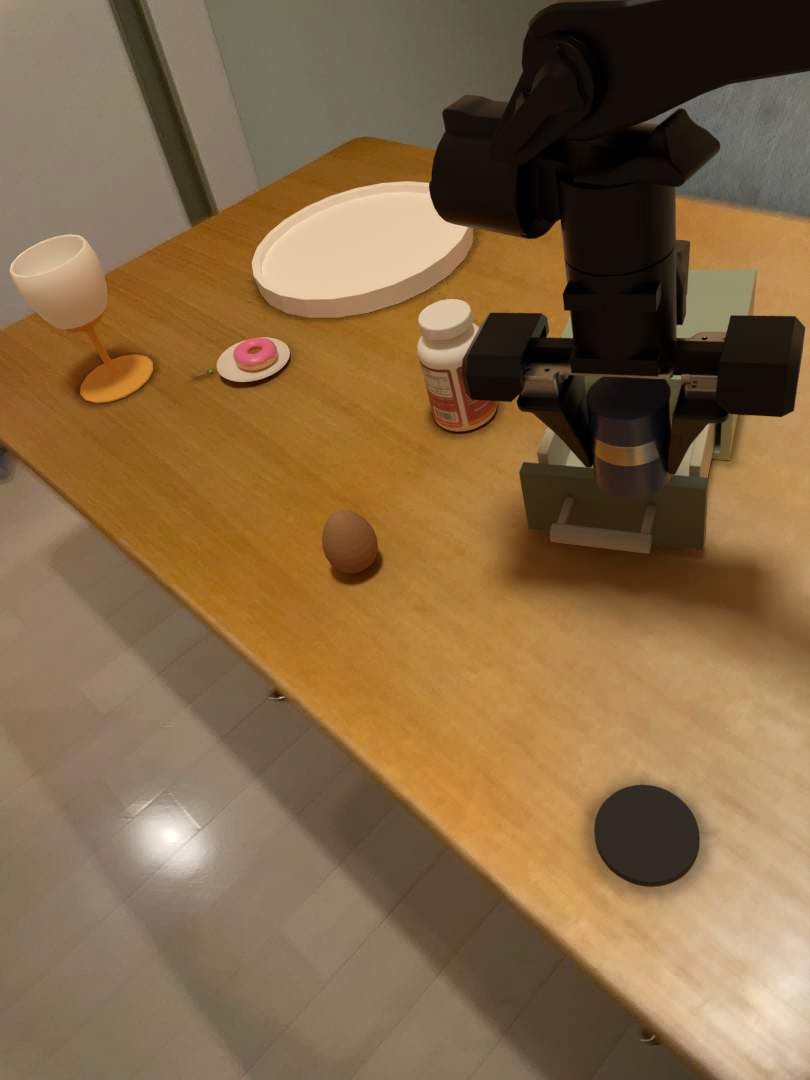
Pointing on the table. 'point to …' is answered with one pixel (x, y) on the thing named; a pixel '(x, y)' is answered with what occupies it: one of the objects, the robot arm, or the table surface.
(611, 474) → the can
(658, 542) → the drawer
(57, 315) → the cup
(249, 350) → the donut
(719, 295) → the pale olive box
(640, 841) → the coaster
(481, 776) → the table surface
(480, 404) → the pill bottle
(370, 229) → the plate
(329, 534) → the egg
